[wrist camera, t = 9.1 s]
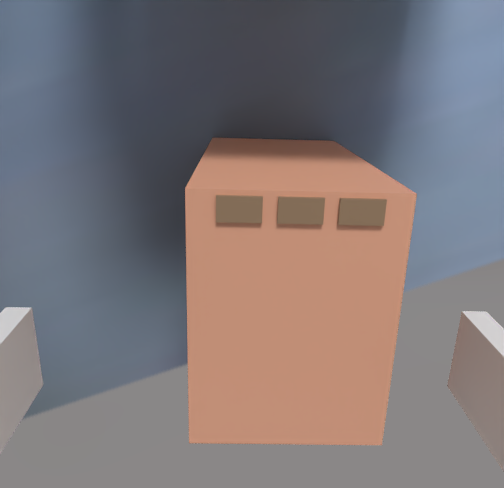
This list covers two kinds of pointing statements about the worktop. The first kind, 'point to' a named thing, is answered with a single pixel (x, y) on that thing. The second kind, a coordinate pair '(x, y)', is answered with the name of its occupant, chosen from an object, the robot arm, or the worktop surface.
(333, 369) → the stub
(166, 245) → the worktop surface
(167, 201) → the worktop surface
